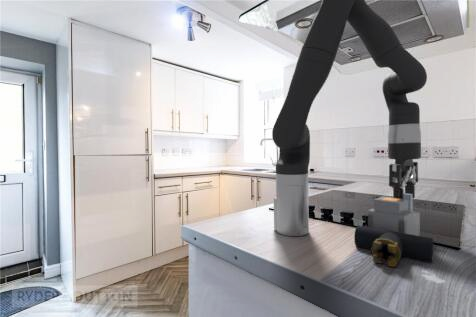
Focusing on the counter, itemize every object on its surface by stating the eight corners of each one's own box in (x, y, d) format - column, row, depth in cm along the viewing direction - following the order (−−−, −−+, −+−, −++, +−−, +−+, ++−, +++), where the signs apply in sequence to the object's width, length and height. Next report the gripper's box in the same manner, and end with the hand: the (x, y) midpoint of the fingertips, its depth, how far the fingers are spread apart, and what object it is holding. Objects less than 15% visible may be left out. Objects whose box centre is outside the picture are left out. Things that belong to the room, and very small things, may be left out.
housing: (368, 240, 66) (368, 199, 65) (385, 231, 73) (385, 193, 72) (403, 250, 59) (404, 204, 59) (419, 238, 66) (419, 197, 66)
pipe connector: (429, 250, 47) (346, 234, 56) (429, 278, 47) (346, 257, 57) (433, 234, 56) (360, 223, 65) (432, 258, 56) (360, 243, 65)
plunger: (380, 210, 64) (380, 199, 64) (385, 207, 67) (385, 197, 67) (395, 212, 62) (395, 201, 62) (401, 210, 64) (401, 199, 64)
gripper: (410, 141, 61) (411, 206, 62) (428, 141, 70) (428, 198, 71) (378, 142, 67) (378, 202, 68) (398, 142, 76) (399, 195, 77)
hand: (404, 200), depth 69 cm, fingers open, 8 cm apart
